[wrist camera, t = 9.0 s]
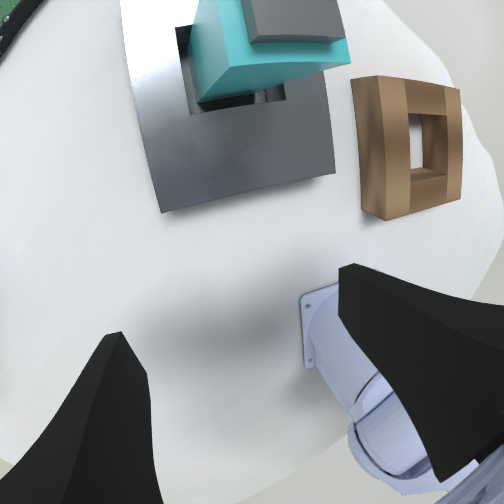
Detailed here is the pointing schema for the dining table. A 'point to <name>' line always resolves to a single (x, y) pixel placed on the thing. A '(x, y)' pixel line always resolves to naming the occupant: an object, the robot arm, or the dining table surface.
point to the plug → (262, 44)
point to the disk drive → (13, 19)
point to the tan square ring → (407, 145)
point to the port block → (217, 119)
